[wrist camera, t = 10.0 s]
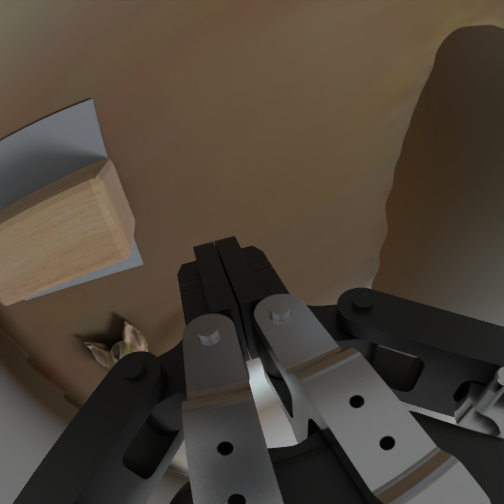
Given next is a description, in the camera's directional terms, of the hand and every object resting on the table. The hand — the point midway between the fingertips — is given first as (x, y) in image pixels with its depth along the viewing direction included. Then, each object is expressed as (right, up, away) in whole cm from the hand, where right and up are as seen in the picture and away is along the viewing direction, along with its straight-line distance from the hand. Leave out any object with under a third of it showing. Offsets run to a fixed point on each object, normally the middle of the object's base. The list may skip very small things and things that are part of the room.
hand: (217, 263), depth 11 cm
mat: (-27, +6, +23) cm, 36 cm away
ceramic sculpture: (-20, -17, +39) cm, 47 cm away
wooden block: (-13, +6, +21) cm, 26 cm away
